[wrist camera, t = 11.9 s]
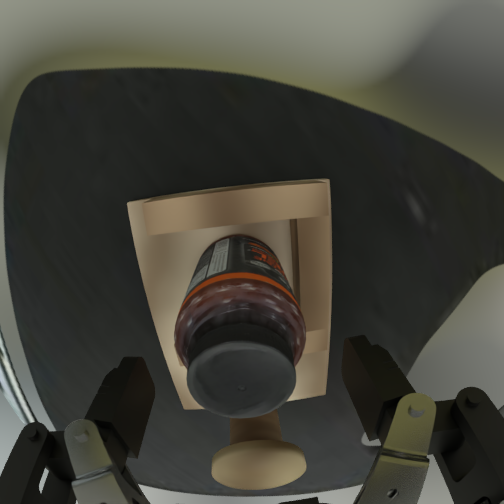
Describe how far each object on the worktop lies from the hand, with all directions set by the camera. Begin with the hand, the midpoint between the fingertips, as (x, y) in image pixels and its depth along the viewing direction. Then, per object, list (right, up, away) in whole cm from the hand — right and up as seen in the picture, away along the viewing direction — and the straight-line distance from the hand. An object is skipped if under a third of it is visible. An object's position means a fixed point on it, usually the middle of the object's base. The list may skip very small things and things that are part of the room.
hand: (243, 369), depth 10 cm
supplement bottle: (-1, +3, +10) cm, 10 cm away
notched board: (0, 0, +12) cm, 12 cm away
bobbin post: (0, -6, +13) cm, 14 cm away
